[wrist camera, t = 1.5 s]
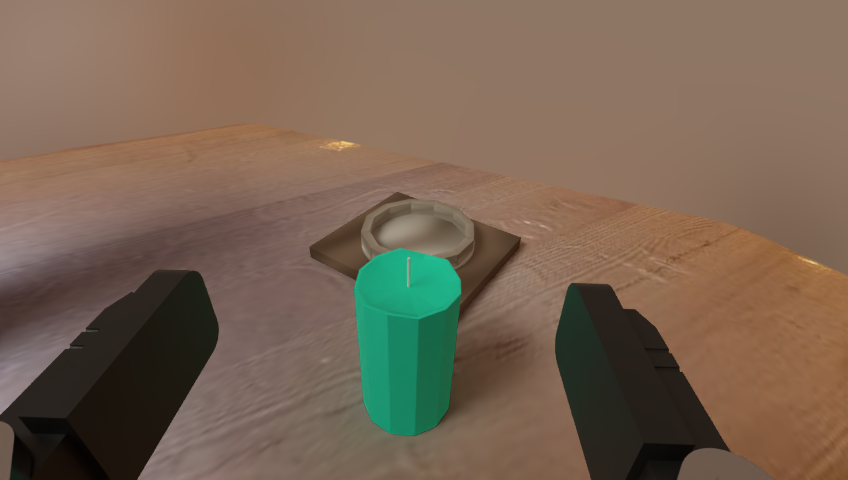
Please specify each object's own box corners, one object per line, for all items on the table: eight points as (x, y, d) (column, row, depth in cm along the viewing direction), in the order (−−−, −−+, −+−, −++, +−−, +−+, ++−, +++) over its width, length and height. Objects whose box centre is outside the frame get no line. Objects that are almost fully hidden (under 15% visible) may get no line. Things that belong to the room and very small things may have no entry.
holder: (310, 256, 42) (306, 231, 40) (397, 200, 51) (397, 178, 50) (448, 327, 34) (450, 300, 33) (519, 247, 44) (523, 223, 42)
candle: (435, 449, 26) (447, 309, 19) (348, 419, 28) (330, 279, 21) (460, 373, 31) (476, 239, 24) (384, 351, 32) (379, 218, 25)
